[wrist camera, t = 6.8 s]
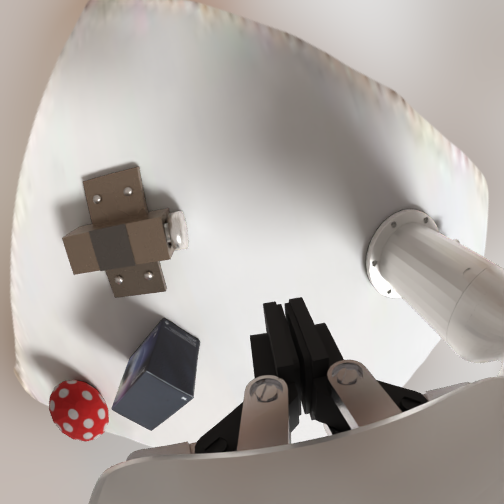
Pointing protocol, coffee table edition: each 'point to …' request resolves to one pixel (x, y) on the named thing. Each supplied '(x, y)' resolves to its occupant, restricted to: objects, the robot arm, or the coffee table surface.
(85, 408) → the decorative mushroom
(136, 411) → the small box
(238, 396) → the coffee table surface
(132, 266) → the hinge
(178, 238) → the hinge pin
